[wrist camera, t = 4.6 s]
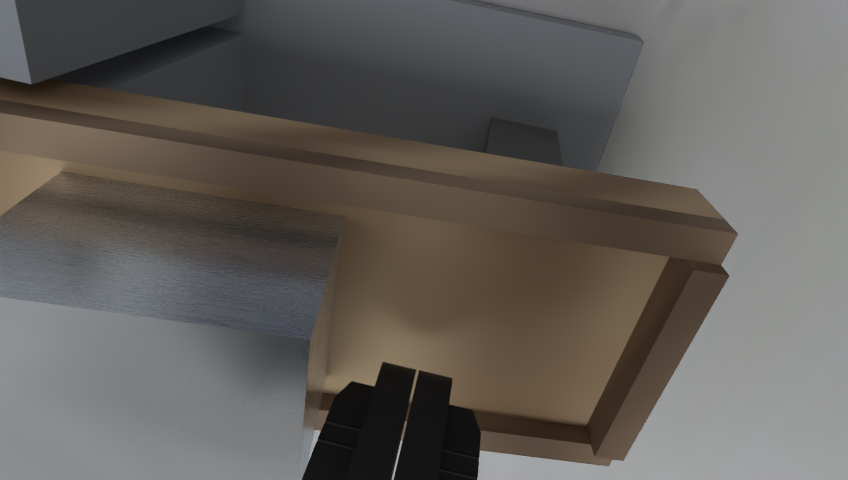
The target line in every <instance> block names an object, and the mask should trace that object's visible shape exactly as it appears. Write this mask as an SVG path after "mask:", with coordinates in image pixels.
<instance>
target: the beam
mask: <svg viewBox="0 0 848 480" xmlns="http://www.w3.org/2000/svg"><path fill="white" fill-rule="evenodd" d="M60 172H67V173H73V174H80V175H86V176H92V177H99V178H105V179H112V180H118V181H124V182H131V183H137V184H143V185H150V186H156V187H162V188H169V189H175V190H182V191H188V192H194V193H201V194H207V195H213V196H220V197H226V198H232V199H239V200H245V201H252V202H258V203H264V204H271V205H277V206H283V207H290V208H296V209H303V210H309V211H315V212H322V213H328V214H334V215H341V216H345V217H344V226H343V235H342V243H341V252H340V261H339V270H338V278H337V287H336V296H335V305H334V314H333V322H332V331H331V340H330V349H329V357H328V366H327V375H326V381H325V385H324V390H323V394H322V399H321V403H320V408H319V412H318V417H317V421H316V426H315V430H322V427H323V425H324V424H325V420H326V417H327V415H328V412H329V410H330V407H331V405H332V402H333V399H334V397H335V396H336V395H337V394H338V393H340V392H341V391H342V390H343V389H344V388H345V387H346V386H347V385H348V384H349V383H350V382H351V381H354V382H358V383H362V384H366V385H370V386H375V383H376V380H377V377H378V374H379V371H380V368H381V365H382V362H387V363H391V364H395V365H399V366H403V367H408V368H412V369H416V374H415V378H414V383H413V387H412V392H411V396H410V401H409V405H408V410H407V414H406V419H405V423H404V428H403V432H402V436H401V440H402V441H403V438H404V433H405V429H406V425H407V420H408V416H409V412H410V407H411V403H412V399H413V394H414V390H415V385H416V381H417V377H418V372H419V370H421V371H425V372H429V373H434V374H438V375H442V376H446V377H450V378H453V381H452V388H451V395H450V402H449V404H450V405H454V406H458V407H463V408H467V409H471V410H473V412H474V415H475V418H476V420H477V423H478V426H479V429H480V431H481V440H480V450H482V451H490V452H498V453H506V454H515V455H523V456H531V457H539V458H547V459H555V460H563V461H571V462H579V463H587V464H595V465H603V466H609V465H610V463H611V461H612V459H613V460H621V461H623V460H624V458H625V457H626V455H627V453H628V451H629V450H630V448H631V446H632V444H633V443H634V441H635V439H636V437H637V436H638V434H639V432H640V430H641V429H642V427H643V425H644V423H645V422H646V420H647V418H648V416H649V415H650V413H651V411H652V409H653V408H654V406H655V404H656V403H657V401H658V399H659V397H660V396H661V394H662V392H663V390H664V389H665V387H666V385H667V383H668V382H669V380H670V378H671V376H672V375H673V373H674V371H675V369H676V368H677V366H678V364H679V362H680V361H681V359H682V357H683V356H684V354H685V352H686V350H687V349H688V347H689V345H690V343H691V342H692V340H693V338H694V336H695V335H696V333H697V331H698V329H699V328H700V326H701V324H702V322H703V321H704V319H705V317H706V315H707V314H708V312H709V310H710V309H711V307H712V305H713V303H714V302H715V300H716V298H717V296H718V295H719V293H720V291H721V289H722V288H723V286H724V284H725V282H726V281H727V279H728V277H729V275H728V273H727V272H726V271H725V270H724V268H723V267H722V266H721V264H722V262H723V260H724V258H725V257H726V255H727V253H728V251H729V249H730V248H731V246H732V244H733V242H734V240H735V239H736V237H737V235H738V233H737V232H736V231H735V230H734V229H733V228H732V227H731V226H730V225H729V224H728V222H727V221H726V220H725V219H724V218H723V217H722V216H721V215H720V214H719V213H718V212H717V211H716V209H715V208H714V207H713V206H712V205H711V204H710V203H709V202H708V201H707V200H706V199H705V198H704V197H703V195H702V194H701V193H700V192H699V191H698V190H697V189H692V188H687V187H681V186H675V185H669V184H663V183H657V182H651V181H645V180H639V179H634V178H628V177H622V176H616V175H610V174H604V173H598V172H592V171H587V170H581V169H575V168H569V167H563V166H557V165H551V164H545V163H539V162H534V161H528V160H522V159H516V158H510V157H504V156H498V155H492V154H487V153H481V152H475V151H469V150H463V149H457V148H451V147H445V146H439V145H434V144H428V143H422V142H416V141H410V140H404V139H398V138H392V137H387V136H381V135H375V134H369V133H363V132H357V131H351V130H345V129H339V128H334V127H328V126H322V125H316V124H310V123H304V122H298V121H292V120H287V119H281V118H275V117H269V116H263V115H257V114H251V113H245V112H239V111H234V110H228V109H222V108H216V107H210V106H204V105H198V104H192V103H187V102H181V101H175V100H169V99H163V98H157V97H151V96H145V95H139V94H134V93H128V92H122V91H116V90H110V89H104V88H98V87H92V86H87V85H81V84H75V83H69V82H63V81H57V80H51V79H46V80H43V81H40V82H38V83H35V84H28V83H23V82H19V81H14V80H10V79H5V78H1V77H0V216H1V215H2V214H3V213H5V212H6V211H7V210H9V209H10V208H12V207H13V206H14V205H16V204H17V203H18V202H20V201H21V200H23V199H24V198H25V197H27V196H28V195H29V194H31V193H32V192H34V191H35V190H36V189H38V188H39V187H40V186H42V185H43V184H45V183H46V182H47V181H49V180H50V179H51V178H53V177H54V176H56V175H57V174H58V173H60Z"/></svg>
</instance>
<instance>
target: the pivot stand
mask: <svg viewBox="0 0 848 480" xmlns="http://www.w3.org/2000/svg"><path fill="white" fill-rule="evenodd" d="M643 43H644V42H643V41H642V40H641V39H640V38H639V37H638V36H637V35H633V34H628V33H624V32H619V31H614V30H610V29H605V28H600V27H596V26H591V25H586V24H582V23H577V22H572V21H567V20H563V19H558V18H553V17H549V16H544V15H539V14H535V13H530V12H525V11H521V10H516V9H511V8H507V7H502V6H497V5H492V4H488V3H483V2H478V1H474V0H0V77H1V78H5V79H10V80H14V81H19V82H23V83H28V84H35V83H38V82H40V81H43V80H46V79H51V80H57V81H63V82H69V83H75V84H81V85H87V86H92V87H98V88H104V89H110V90H116V91H122V92H128V93H134V94H139V95H145V96H151V97H157V98H163V99H169V100H175V101H181V102H187V103H192V104H198V105H204V106H210V107H216V108H222V109H228V110H234V111H239V112H245V113H251V114H257V115H263V116H269V117H275V118H281V119H287V120H292V121H298V122H304V123H310V124H316V125H322V126H328V127H334V128H339V129H345V130H351V131H357V132H363V133H369V134H375V135H381V136H387V137H392V138H398V139H404V140H410V141H416V142H422V143H428V144H434V145H439V146H445V147H451V148H457V149H463V150H469V151H475V152H481V153H487V154H492V155H498V156H504V157H510V158H516V159H522V160H528V161H534V162H539V163H545V164H551V165H557V166H563V167H569V168H575V169H581V170H587V171H592V172H596V169H597V167H598V164H599V161H600V159H601V156H602V153H603V150H604V148H605V145H606V142H607V140H608V137H609V134H610V132H611V129H612V126H613V124H614V121H615V118H616V115H617V113H618V110H619V107H620V105H621V102H622V99H623V97H624V94H625V91H626V89H627V86H628V83H629V80H630V78H631V75H632V72H633V70H634V67H635V64H636V62H637V59H638V56H639V54H640V51H641V48H642V45H643Z"/></svg>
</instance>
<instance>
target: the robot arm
mask: <svg viewBox="0 0 848 480" xmlns="http://www.w3.org/2000/svg"><path fill="white" fill-rule="evenodd" d="M415 374H416V369H412V368H408V367H403V366H399V365H395V364H391V363H387V362H382V365H381V368H380V371H379V374H378V377H377V380H376V383H375V386H370V385H366V384H362V383H358V382H354V381H351V382H350V383H349V384H348V385H347V386H346V387H345V388H344V389H343V390H342V391H341V392H340V393H338V394H337V395H336V396H335V397H334V399H333V402H332V405H331V407H330V410H329V412H328V415H327V417H326V420H325V424H324V425H323V427H322V430H321V432H320V435H319V437H318V441H317V442H316V445H315V447H314V450H313V452H312V455H311V458H310V460H309V463H308V465H307V468H306V470H305V473H304V475H303V478H302V480H391V479H392V475H393V471H394V466H395V462H396V458H397V454H398V449H399V445H400V441H401V436H402V432H403V428H404V423H405V419H406V414H407V410H408V405H409V401H410V396H411V392H412V387H413V383H414V378H415ZM452 381H453V378H450V377H446V376H442V375H438V374H434V373H429V372H425V371H421V370H419V372H418V377H417V381H416V385H415V390H414V394H413V399H412V403H411V407H410V412H409V416H408V420H407V425H406V429H405V433H404V438H403V442H402V446H401V451H400V455H399V459H398V464H397V468H396V472H395V477H394V480H477V477H478V465H479V461H478V460H479V453H480V440H481V431H480V429H479V426H478V423H477V420H476V418H475V415H474V412H473V410H471V409H467V408H463V407H458V406H454V405H450V404H449V402H450V395H451V388H452Z"/></svg>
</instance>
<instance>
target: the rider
mask: <svg viewBox="0 0 848 480" xmlns="http://www.w3.org/2000/svg"><path fill="white" fill-rule="evenodd" d="M344 217H345V216H341V215H334V214H328V213H322V212H315V211H309V210H303V209H296V208H290V207H283V206H277V205H271V204H264V203H258V202H252V201H245V200H239V199H232V198H226V197H220V196H213V195H207V194H201V193H194V192H188V191H182V190H175V189H169V188H162V187H156V186H150V185H143V184H137V183H131V182H124V181H118V180H112V179H105V178H99V177H92V176H86V175H80V174H73V173H67V172H60V173H58V174H57V175H56V176H54V177H53V178H51V179H50V180H49V181H47V182H46V183H45V184H43V185H42V186H40V187H39V188H38V189H36V190H35V191H34V192H32V193H31V194H29V195H28V196H27V197H25V198H24V199H23V200H21V201H20V202H18V203H17V204H16V205H14V206H13V207H12V208H10V209H9V210H7V211H6V212H5V213H3V214H2V215H1V216H0V480H302V478H303V475H304V473H305V470H306V467H307V462H308V458H309V453H310V449H311V444H312V440H313V435H314V430H315V426H316V421H317V417H318V412H319V408H320V403H321V399H322V394H323V390H324V385H325V381H326V375H327V366H328V357H329V349H330V340H331V331H332V322H333V314H334V305H335V296H336V287H337V278H338V270H339V261H340V252H341V243H342V235H343V226H344Z"/></svg>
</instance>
